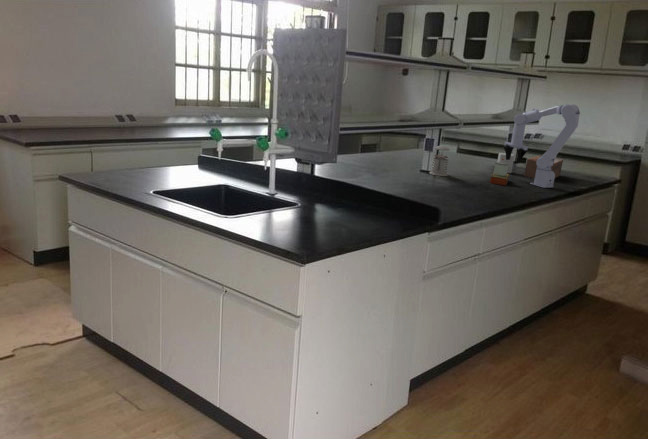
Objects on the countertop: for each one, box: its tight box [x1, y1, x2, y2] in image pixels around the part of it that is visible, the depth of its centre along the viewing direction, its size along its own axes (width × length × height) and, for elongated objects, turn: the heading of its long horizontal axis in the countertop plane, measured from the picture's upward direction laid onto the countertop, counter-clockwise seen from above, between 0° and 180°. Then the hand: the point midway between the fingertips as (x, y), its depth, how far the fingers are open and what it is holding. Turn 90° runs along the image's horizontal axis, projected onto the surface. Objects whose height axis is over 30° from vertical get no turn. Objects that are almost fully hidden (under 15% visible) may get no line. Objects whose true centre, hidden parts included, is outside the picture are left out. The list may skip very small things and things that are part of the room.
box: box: [492, 161, 509, 176], centre depth 302 cm, size 5×5×6 cm
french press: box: [428, 133, 451, 177], centre depth 304 cm, size 10×12×25 cm
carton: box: [489, 173, 510, 186], centre depth 303 cm, size 8×16×4 cm, turn 159°
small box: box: [496, 152, 515, 174], centre depth 336 cm, size 8×6×10 cm
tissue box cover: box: [523, 155, 564, 179], centre depth 335 cm, size 26×14×10 cm, turn 147°
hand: (513, 161), depth 313 cm, fingers open, 7 cm apart
